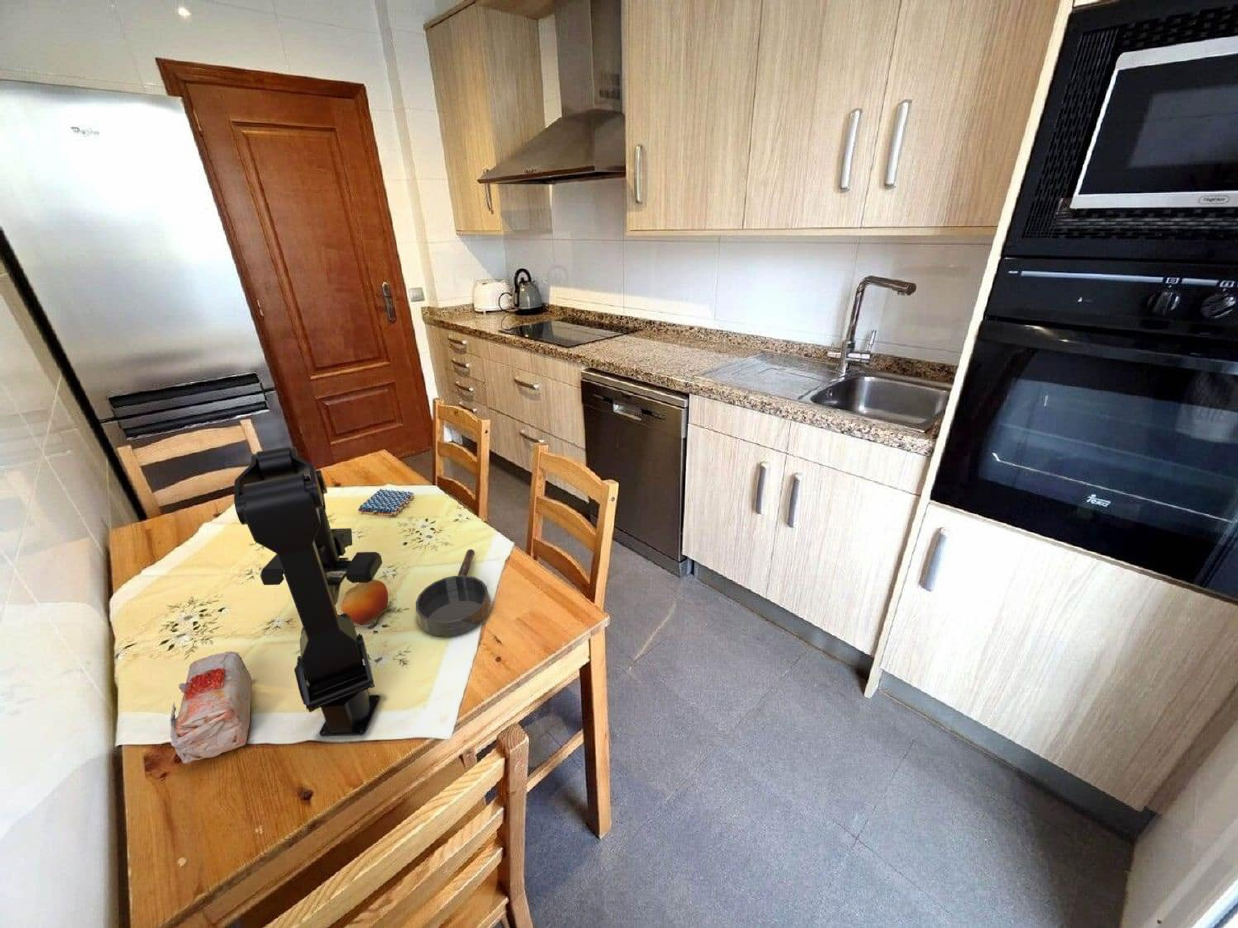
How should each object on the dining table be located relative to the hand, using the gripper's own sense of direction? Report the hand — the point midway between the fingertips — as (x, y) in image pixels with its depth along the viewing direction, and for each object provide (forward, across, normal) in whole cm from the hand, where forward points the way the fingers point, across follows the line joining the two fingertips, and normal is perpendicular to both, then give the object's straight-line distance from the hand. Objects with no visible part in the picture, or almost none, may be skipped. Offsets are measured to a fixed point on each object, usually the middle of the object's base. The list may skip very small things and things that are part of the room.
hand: (334, 604), depth 93 cm
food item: (+3, +6, +22) cm, 24 cm away
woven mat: (+3, +5, -40) cm, 41 cm away
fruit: (+3, -6, 0) cm, 6 cm away
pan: (+3, -22, 0) cm, 22 cm away
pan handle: (+1, -22, -11) cm, 24 cm away
